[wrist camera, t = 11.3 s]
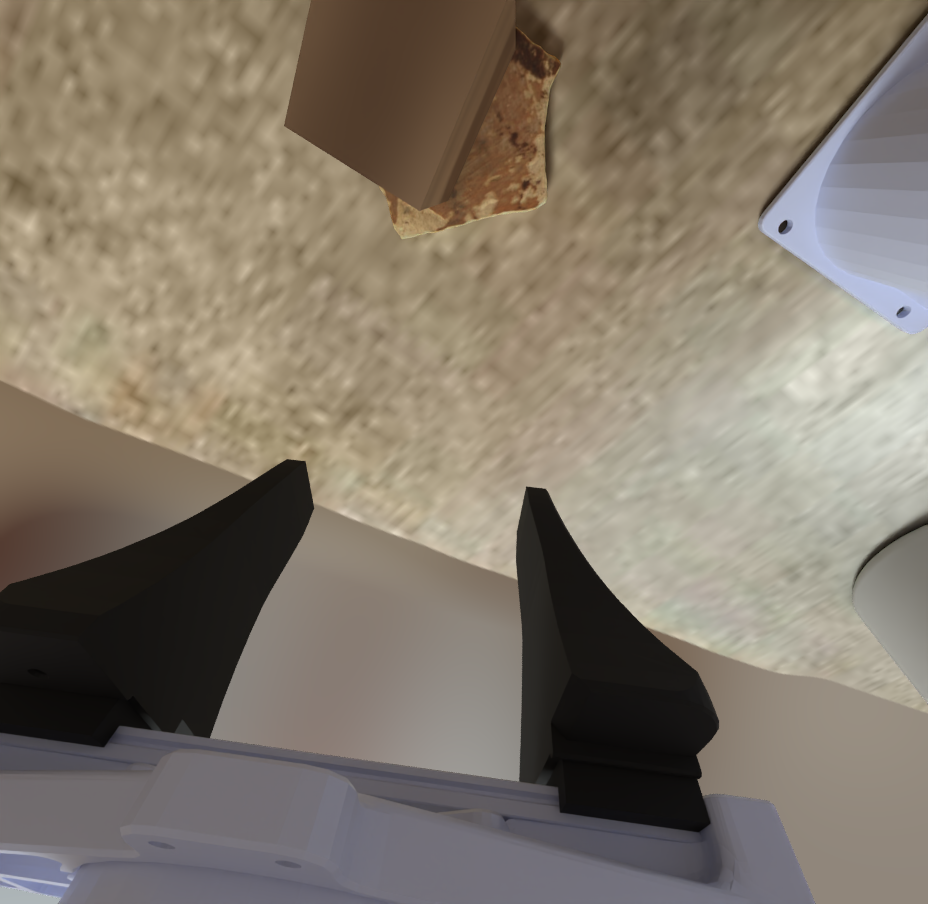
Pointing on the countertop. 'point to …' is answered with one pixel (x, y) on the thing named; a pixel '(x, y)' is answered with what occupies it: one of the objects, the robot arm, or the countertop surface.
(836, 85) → the countertop surface
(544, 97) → the shard
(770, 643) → the countertop surface
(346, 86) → the walnut block
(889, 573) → the cylinder vase
